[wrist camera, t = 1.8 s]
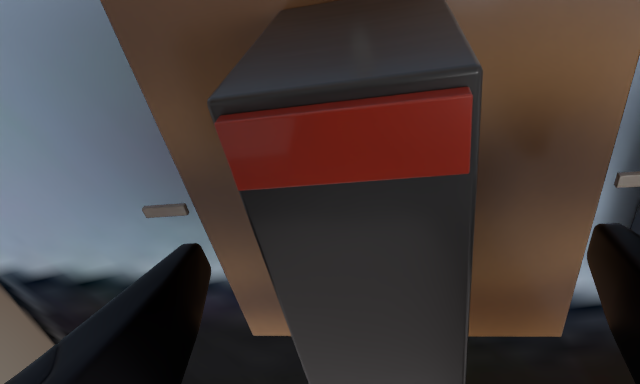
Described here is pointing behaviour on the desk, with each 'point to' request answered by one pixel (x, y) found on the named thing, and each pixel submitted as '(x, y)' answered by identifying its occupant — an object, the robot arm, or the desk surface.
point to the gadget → (362, 183)
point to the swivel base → (494, 143)
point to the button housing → (636, 222)
